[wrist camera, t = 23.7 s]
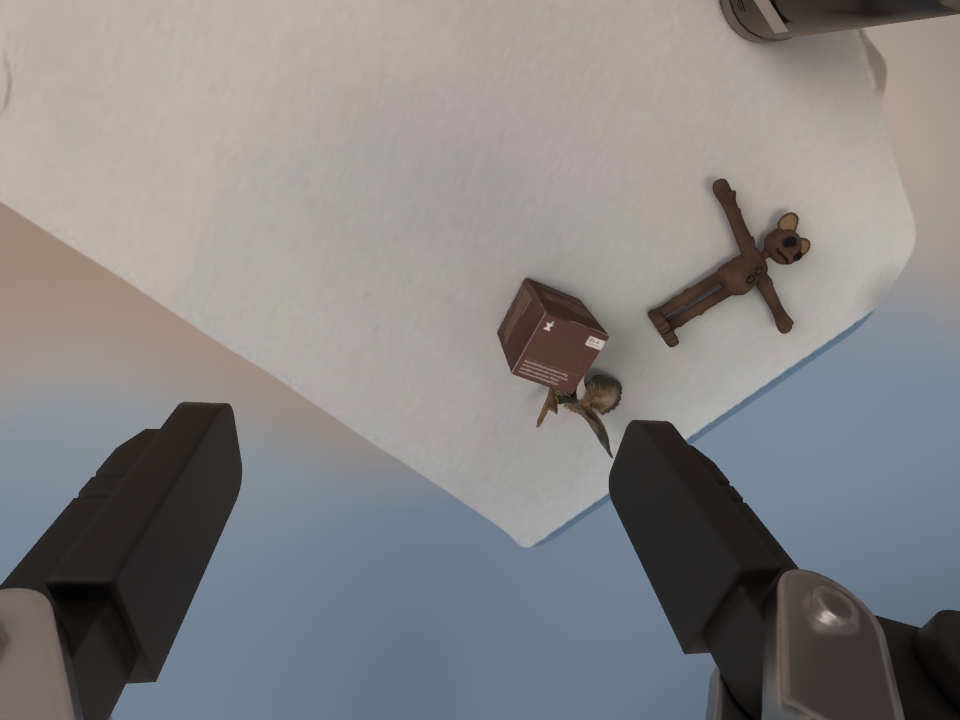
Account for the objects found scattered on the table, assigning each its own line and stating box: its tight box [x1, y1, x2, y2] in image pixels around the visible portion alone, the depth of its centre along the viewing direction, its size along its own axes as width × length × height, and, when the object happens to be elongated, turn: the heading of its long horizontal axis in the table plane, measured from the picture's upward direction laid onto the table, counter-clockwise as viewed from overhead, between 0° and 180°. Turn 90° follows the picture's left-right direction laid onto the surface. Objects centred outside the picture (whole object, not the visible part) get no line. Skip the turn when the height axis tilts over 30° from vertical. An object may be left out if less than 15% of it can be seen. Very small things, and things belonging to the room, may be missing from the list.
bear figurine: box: [648, 179, 810, 347], centre depth 41 cm, size 18×4×14 cm
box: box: [497, 278, 609, 394], centre depth 39 cm, size 6×6×7 cm
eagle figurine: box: [537, 375, 622, 459], centre depth 45 cm, size 8×7×9 cm
